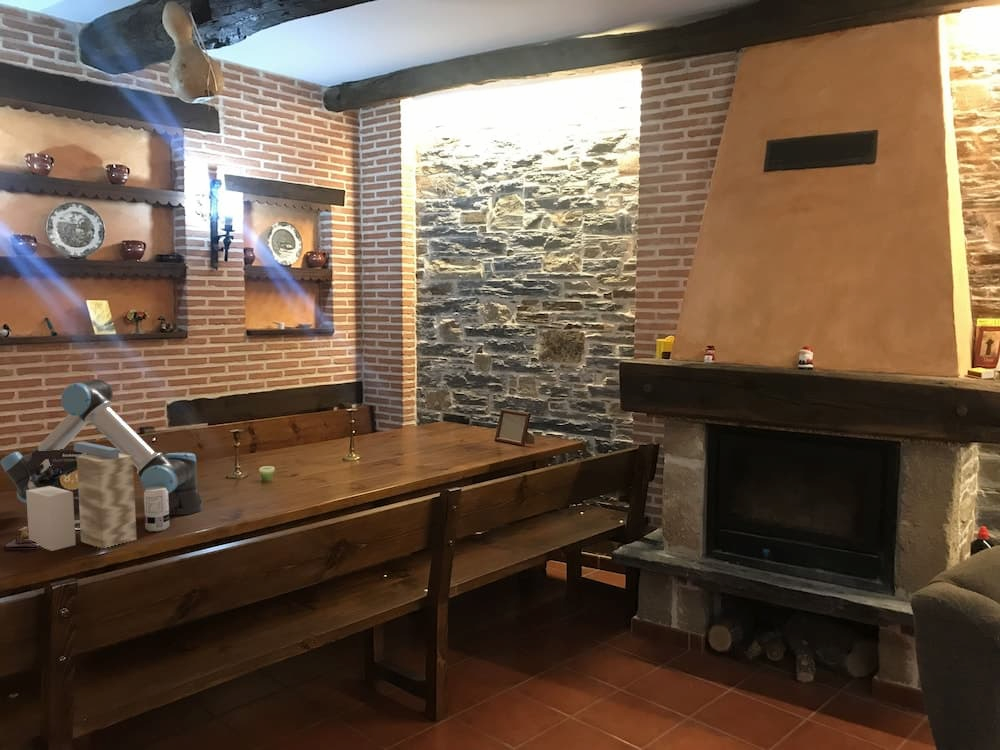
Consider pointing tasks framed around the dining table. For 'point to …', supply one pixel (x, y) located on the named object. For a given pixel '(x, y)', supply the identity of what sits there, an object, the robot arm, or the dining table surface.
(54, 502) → the white step
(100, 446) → the slate bar
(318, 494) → the dining table surface
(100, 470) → the birch stand
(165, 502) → the supplement can
